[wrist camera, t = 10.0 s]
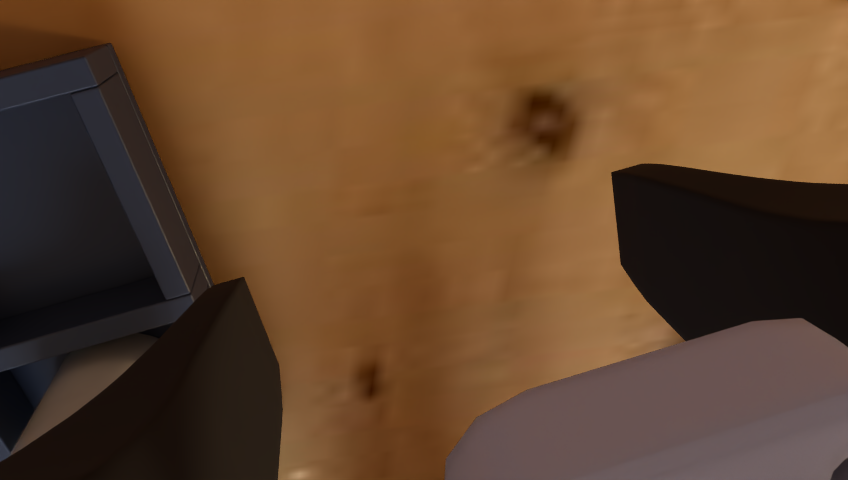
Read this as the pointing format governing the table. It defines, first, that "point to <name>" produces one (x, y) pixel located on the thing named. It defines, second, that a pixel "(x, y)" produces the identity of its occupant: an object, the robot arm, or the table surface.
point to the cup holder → (81, 225)
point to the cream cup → (82, 382)
